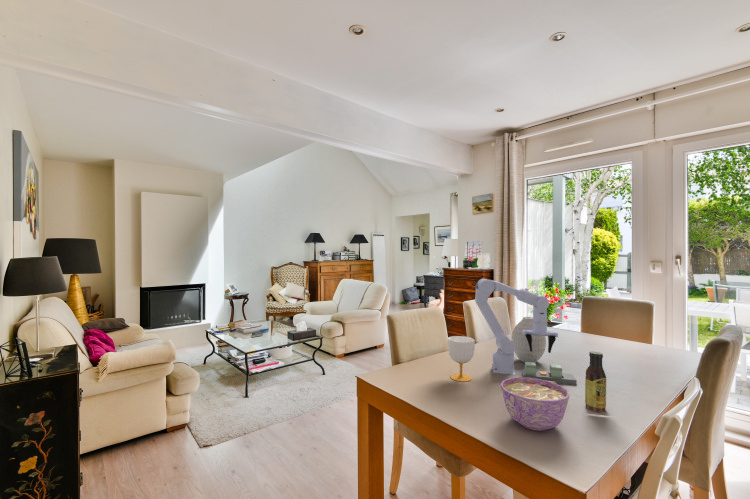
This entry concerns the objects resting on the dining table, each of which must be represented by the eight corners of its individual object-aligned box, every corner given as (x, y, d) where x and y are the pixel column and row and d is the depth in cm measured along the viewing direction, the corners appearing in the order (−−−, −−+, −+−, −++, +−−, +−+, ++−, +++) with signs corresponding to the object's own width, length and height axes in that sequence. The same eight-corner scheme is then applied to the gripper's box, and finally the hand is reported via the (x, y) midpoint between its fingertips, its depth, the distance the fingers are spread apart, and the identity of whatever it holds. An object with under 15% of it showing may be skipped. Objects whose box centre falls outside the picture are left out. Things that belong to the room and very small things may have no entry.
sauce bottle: (599, 415, 119) (598, 356, 120) (581, 408, 125) (580, 351, 125) (610, 411, 122) (610, 353, 123) (592, 404, 128) (592, 349, 128)
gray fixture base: (524, 381, 151) (524, 365, 151) (522, 374, 159) (522, 360, 159) (576, 386, 145) (576, 370, 145) (572, 379, 153) (571, 364, 153)
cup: (479, 377, 155) (479, 338, 155) (466, 385, 146) (466, 343, 147) (456, 371, 163) (456, 334, 163) (442, 378, 154) (442, 339, 155)
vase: (548, 359, 181) (547, 316, 182) (543, 368, 168) (543, 321, 168) (514, 355, 190) (514, 313, 190) (508, 362, 176) (508, 318, 177)
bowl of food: (494, 429, 110) (494, 391, 110) (507, 405, 127) (507, 373, 127) (567, 448, 99) (567, 406, 99) (571, 419, 116) (571, 384, 116)
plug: (551, 381, 150) (551, 367, 150) (549, 378, 153) (549, 364, 154) (562, 382, 148) (562, 368, 148) (560, 379, 152) (560, 365, 152)
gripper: (523, 322, 159) (523, 352, 159) (559, 324, 155) (559, 355, 155) (522, 319, 166) (522, 348, 166) (556, 321, 162) (556, 351, 162)
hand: (540, 351), depth 161 cm, fingers open, 7 cm apart
